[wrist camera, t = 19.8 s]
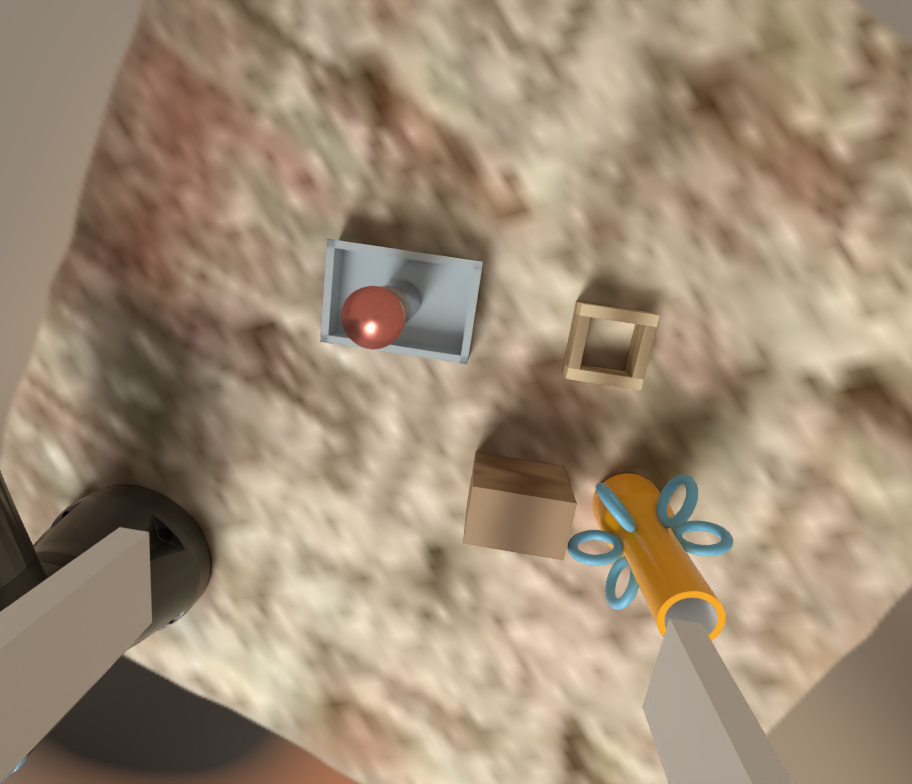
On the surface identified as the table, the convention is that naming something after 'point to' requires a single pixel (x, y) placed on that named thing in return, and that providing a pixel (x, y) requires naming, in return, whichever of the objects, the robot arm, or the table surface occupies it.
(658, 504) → the cylinder
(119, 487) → the robot arm
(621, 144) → the table surface
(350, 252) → the tray
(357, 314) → the pin
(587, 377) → the socket block
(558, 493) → the block
